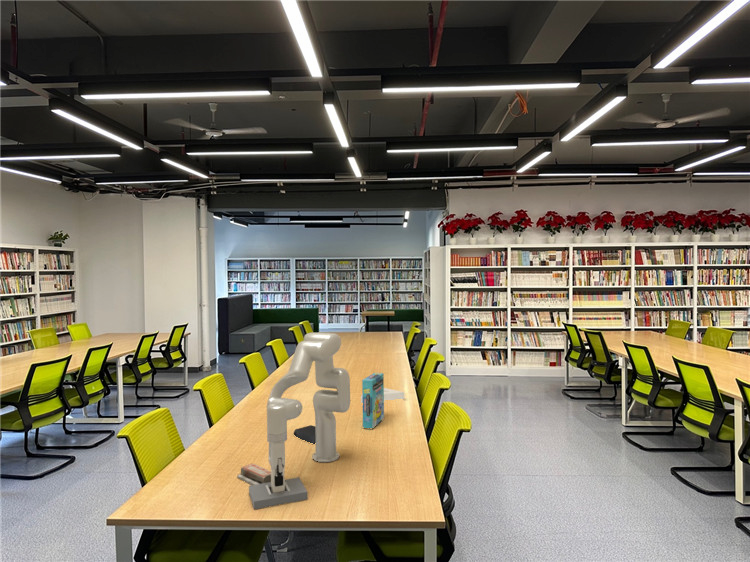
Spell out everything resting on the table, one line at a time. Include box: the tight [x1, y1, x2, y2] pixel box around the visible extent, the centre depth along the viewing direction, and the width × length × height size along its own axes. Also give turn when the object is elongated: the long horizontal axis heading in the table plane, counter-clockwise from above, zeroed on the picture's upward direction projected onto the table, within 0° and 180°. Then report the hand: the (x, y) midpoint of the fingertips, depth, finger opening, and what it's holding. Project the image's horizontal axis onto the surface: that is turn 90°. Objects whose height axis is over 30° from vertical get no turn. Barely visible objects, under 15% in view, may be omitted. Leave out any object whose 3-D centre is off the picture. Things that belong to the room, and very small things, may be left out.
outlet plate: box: [248, 476, 309, 511], centre depth 185 cm, size 14×20×3 cm
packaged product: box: [236, 463, 271, 486], centre depth 200 cm, size 18×5×10 cm
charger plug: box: [270, 466, 286, 493], centre depth 185 cm, size 4×4×13 cm
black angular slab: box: [292, 424, 316, 445], centre depth 251 cm, size 13×19×4 cm
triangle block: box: [360, 387, 405, 404], centre depth 321 cm, size 30×26×6 cm
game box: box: [361, 372, 385, 429], centre depth 272 cm, size 20×6×27 cm, turn 161°
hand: (277, 482), depth 185 cm, fingers closed on charger plug, 4 cm apart
